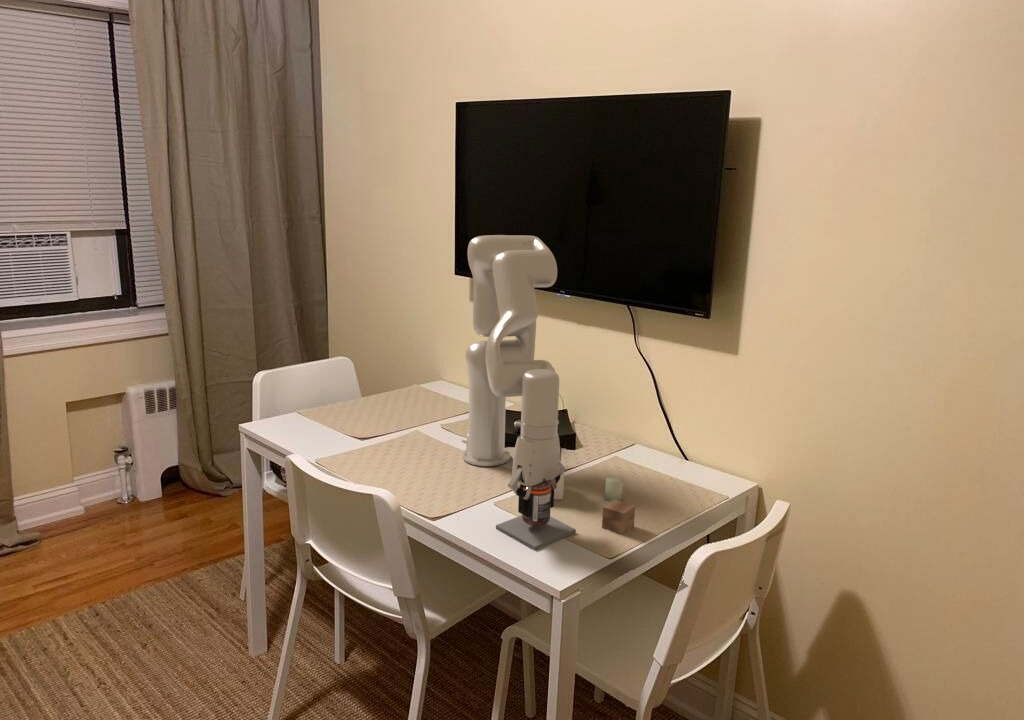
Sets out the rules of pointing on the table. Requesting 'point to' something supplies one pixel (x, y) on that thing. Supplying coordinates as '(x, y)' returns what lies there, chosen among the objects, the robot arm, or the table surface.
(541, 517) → the supplement bottle
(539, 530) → the slate mat
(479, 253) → the robot arm
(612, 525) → the walnut block
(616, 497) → the sage cylinder
